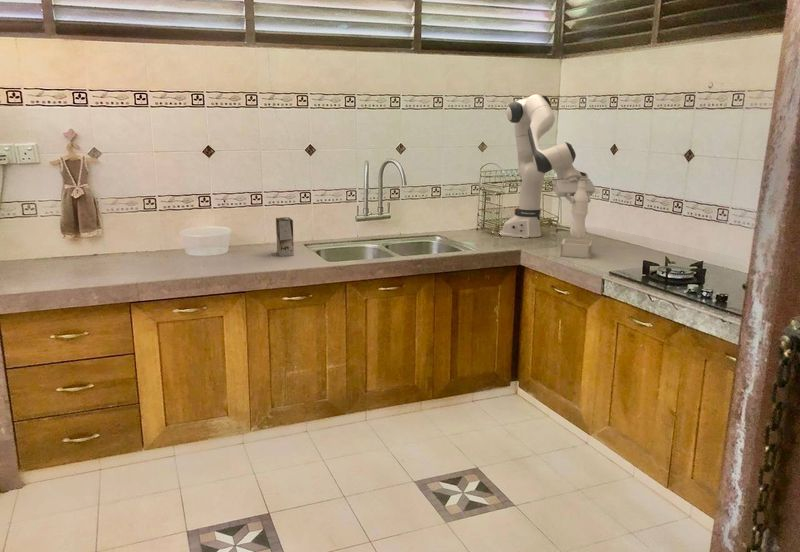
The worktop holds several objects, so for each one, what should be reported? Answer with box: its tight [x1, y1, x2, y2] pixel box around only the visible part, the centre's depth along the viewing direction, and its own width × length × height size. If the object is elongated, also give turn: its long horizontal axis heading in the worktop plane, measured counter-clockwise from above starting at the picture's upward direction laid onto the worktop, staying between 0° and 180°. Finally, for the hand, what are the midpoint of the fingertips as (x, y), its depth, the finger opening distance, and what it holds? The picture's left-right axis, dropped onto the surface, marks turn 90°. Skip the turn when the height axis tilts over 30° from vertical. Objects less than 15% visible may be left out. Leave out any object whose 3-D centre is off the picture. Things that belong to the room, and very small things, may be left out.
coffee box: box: [275, 216, 295, 257], centre depth 289 cm, size 9×6×16 cm
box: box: [559, 237, 593, 260], centre depth 295 cm, size 13×13×6 cm
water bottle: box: [569, 181, 589, 238], centre depth 291 cm, size 7×7×25 cm
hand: (581, 202), depth 290 cm, fingers closed on water bottle, 7 cm apart
